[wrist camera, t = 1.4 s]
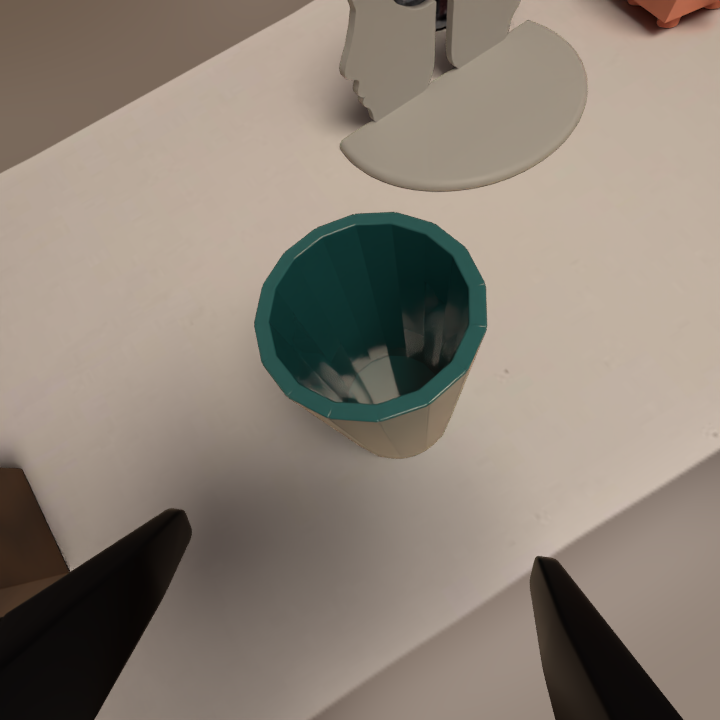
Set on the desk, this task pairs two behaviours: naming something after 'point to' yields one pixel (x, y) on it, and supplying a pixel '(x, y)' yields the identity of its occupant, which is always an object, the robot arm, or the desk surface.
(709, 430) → the desk surface
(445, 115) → the ornament
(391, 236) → the tumbler
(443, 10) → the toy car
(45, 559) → the block
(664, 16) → the pink cube teapot
